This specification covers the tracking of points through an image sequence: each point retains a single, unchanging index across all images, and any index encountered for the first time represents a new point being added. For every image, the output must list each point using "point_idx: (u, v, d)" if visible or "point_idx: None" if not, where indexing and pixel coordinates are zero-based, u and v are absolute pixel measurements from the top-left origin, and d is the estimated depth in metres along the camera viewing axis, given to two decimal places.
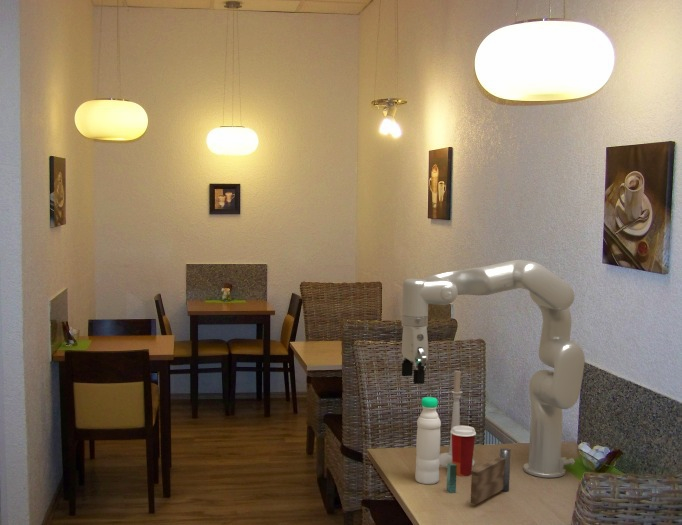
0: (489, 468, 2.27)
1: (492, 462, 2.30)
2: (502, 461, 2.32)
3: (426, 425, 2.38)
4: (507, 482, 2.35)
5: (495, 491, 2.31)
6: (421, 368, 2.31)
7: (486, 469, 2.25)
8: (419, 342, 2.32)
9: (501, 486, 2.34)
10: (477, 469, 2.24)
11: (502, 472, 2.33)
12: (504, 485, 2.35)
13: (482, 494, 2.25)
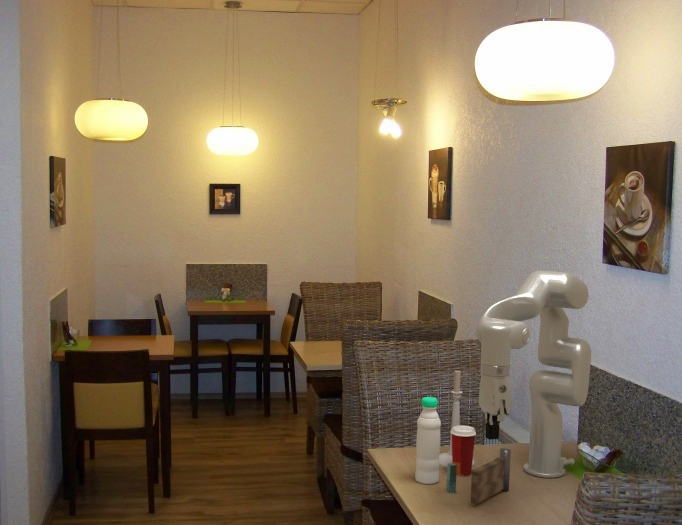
0: (489, 468, 2.27)
1: (492, 462, 2.30)
2: (502, 461, 2.32)
3: (426, 425, 2.38)
4: (507, 482, 2.35)
5: (495, 491, 2.31)
6: (496, 423, 2.15)
7: (486, 469, 2.25)
8: (502, 394, 2.11)
9: (501, 486, 2.34)
10: (477, 469, 2.24)
11: (502, 472, 2.33)
12: (504, 485, 2.35)
13: (482, 494, 2.25)
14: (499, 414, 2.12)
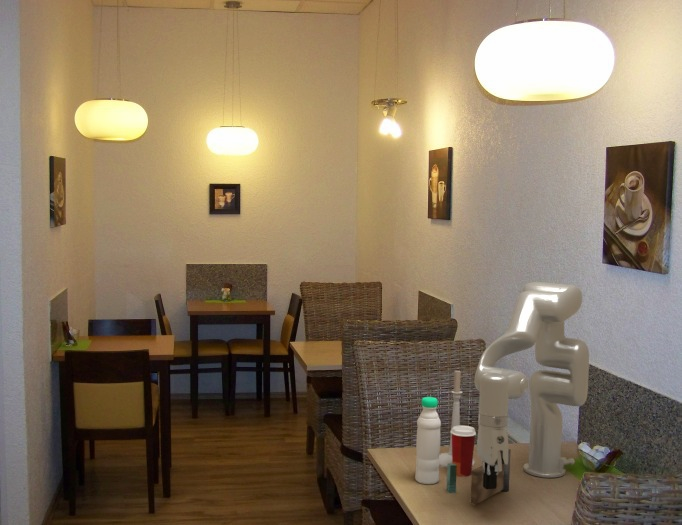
0: None
1: None
2: None
3: (426, 425, 2.38)
4: (507, 482, 2.35)
5: (495, 491, 2.31)
6: (494, 473, 2.15)
7: None
8: (499, 445, 2.12)
9: (501, 486, 2.34)
10: (477, 469, 2.24)
11: (502, 472, 2.33)
12: (504, 485, 2.35)
13: (482, 494, 2.25)
14: (497, 465, 2.13)
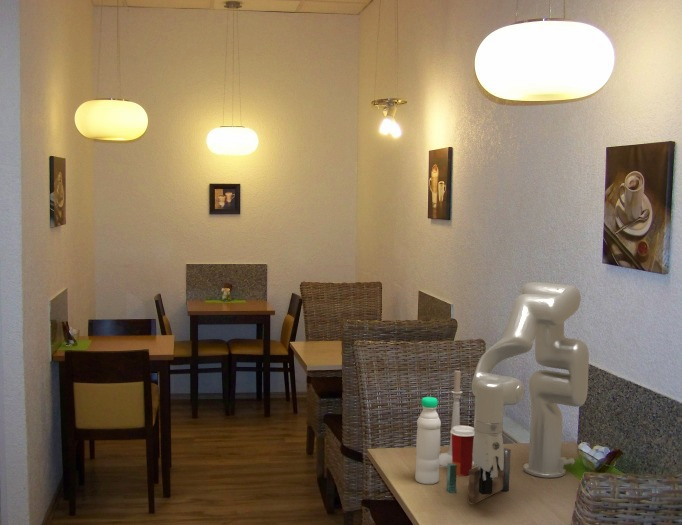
0: None
1: None
2: None
3: (426, 425, 2.38)
4: (507, 482, 2.35)
5: (494, 491, 2.31)
6: (489, 478, 2.18)
7: None
8: (495, 451, 2.15)
9: (501, 486, 2.34)
10: (475, 468, 2.24)
11: (502, 472, 2.33)
12: (504, 485, 2.35)
13: None
14: (492, 470, 2.16)
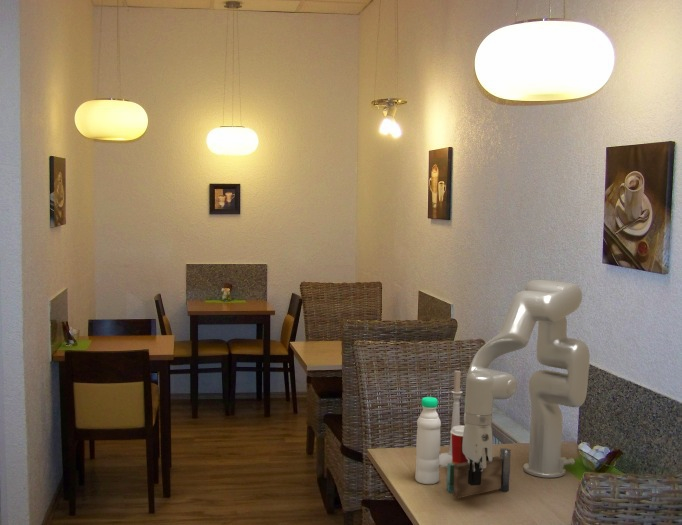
0: None
1: None
2: (498, 460, 2.33)
3: (426, 425, 2.38)
4: (507, 482, 2.35)
5: (487, 489, 2.32)
6: (478, 470, 2.23)
7: None
8: (484, 442, 2.20)
9: (497, 485, 2.34)
10: (462, 463, 2.28)
11: (499, 471, 2.34)
12: (504, 485, 2.35)
13: (468, 488, 2.29)
14: (481, 462, 2.20)
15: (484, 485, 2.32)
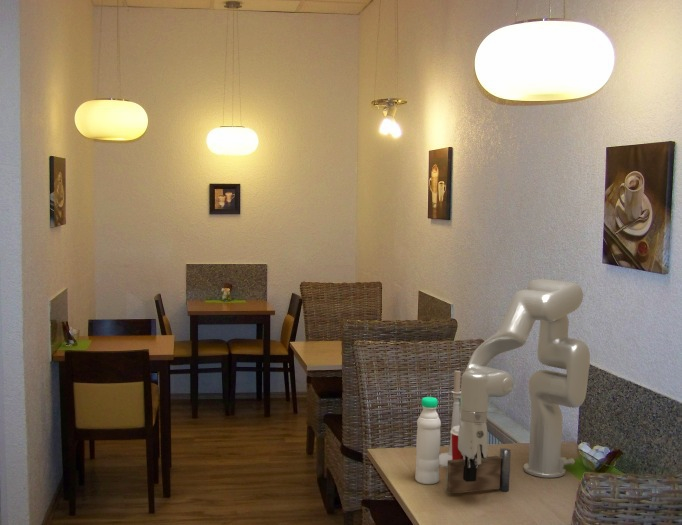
0: None
1: None
2: (496, 459, 2.34)
3: (426, 425, 2.38)
4: (507, 482, 2.35)
5: (484, 487, 2.34)
6: (473, 466, 2.26)
7: None
8: (479, 439, 2.23)
9: (496, 484, 2.35)
10: (456, 460, 2.31)
11: (497, 471, 2.34)
12: (504, 485, 2.35)
13: (462, 485, 2.31)
14: (476, 458, 2.23)
15: (480, 483, 2.33)
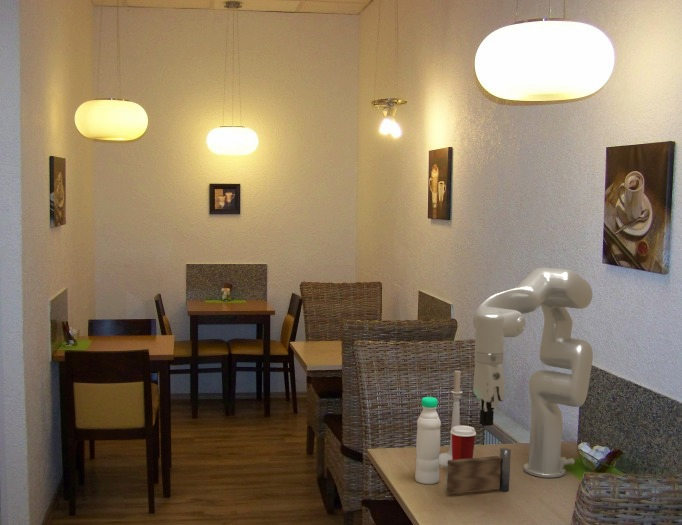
0: (472, 462, 2.31)
1: (483, 458, 2.34)
2: (496, 459, 2.34)
3: (426, 425, 2.38)
4: (507, 482, 2.35)
5: (484, 487, 2.34)
6: (490, 409, 2.19)
7: (466, 462, 2.31)
8: (495, 381, 2.15)
9: (496, 484, 2.35)
10: (456, 460, 2.31)
11: (497, 471, 2.34)
12: (504, 485, 2.35)
13: (462, 485, 2.31)
14: (493, 401, 2.16)
15: (480, 483, 2.33)
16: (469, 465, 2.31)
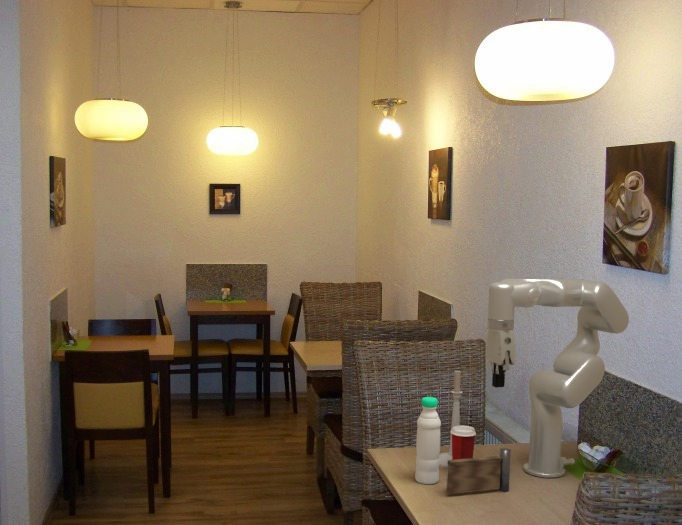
0: (472, 462, 2.31)
1: (483, 458, 2.34)
2: (496, 459, 2.34)
3: (426, 425, 2.38)
4: (507, 482, 2.35)
5: (484, 487, 2.34)
6: (502, 372, 2.37)
7: (466, 462, 2.31)
8: (507, 345, 2.34)
9: (496, 484, 2.35)
10: (456, 460, 2.31)
11: (497, 471, 2.34)
12: (504, 485, 2.35)
13: (462, 485, 2.31)
14: (504, 364, 2.35)
15: (480, 483, 2.33)
16: (469, 465, 2.31)
